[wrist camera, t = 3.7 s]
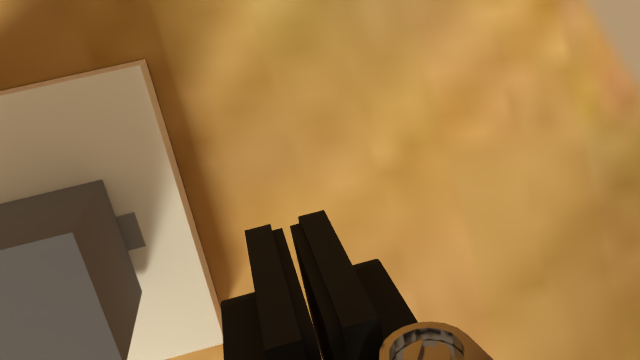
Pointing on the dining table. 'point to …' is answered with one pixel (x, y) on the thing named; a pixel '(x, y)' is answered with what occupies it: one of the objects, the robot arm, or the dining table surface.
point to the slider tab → (65, 278)
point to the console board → (118, 191)
